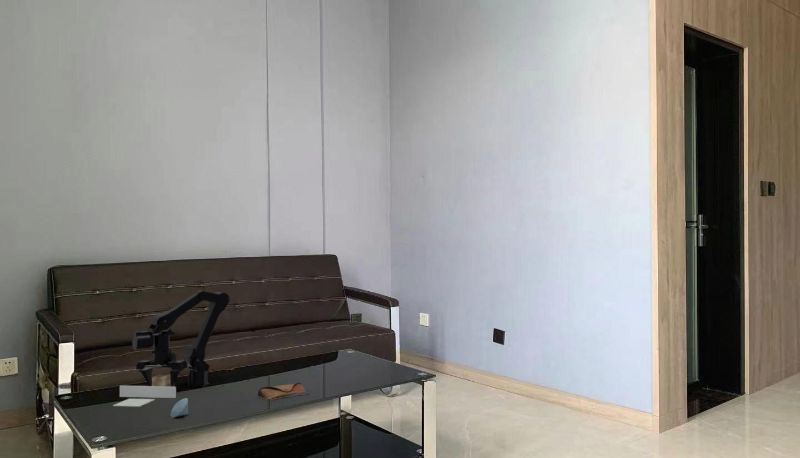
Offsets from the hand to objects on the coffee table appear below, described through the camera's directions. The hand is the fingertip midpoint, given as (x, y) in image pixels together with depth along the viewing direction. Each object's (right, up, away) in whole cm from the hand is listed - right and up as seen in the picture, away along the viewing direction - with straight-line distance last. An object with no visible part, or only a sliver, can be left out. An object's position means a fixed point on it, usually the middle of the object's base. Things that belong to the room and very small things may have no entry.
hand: (161, 387), depth 241 cm
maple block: (0, -2, 0) cm, 2 cm away
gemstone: (+20, 0, -37) cm, 42 cm away
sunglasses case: (+50, -1, -10) cm, 51 cm away
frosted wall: (-1, -1, -10) cm, 10 cm away
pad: (-3, -1, -19) cm, 19 cm away
